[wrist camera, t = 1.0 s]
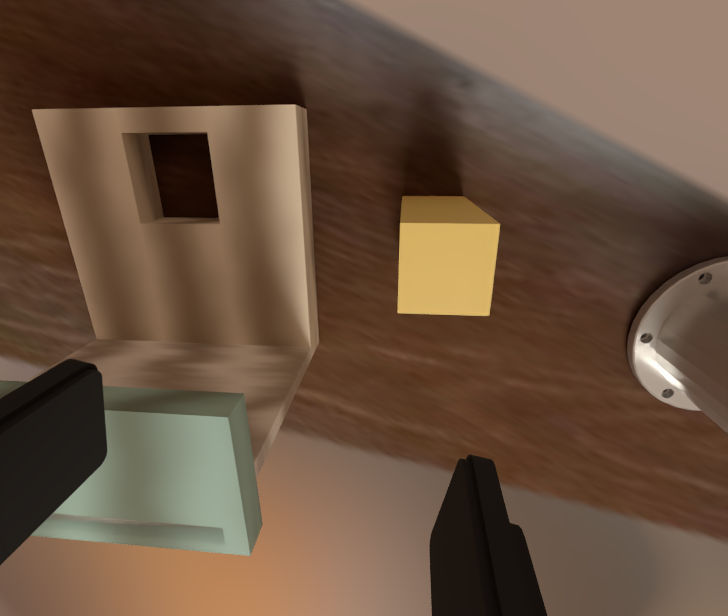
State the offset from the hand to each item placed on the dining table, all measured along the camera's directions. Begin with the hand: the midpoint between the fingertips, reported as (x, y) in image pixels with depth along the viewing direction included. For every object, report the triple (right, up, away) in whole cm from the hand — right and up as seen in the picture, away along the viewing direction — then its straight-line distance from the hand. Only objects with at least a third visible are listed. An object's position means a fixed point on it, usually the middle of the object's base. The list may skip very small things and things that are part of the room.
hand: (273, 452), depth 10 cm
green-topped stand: (-11, +9, +21) cm, 26 cm away
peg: (+7, +10, +19) cm, 23 cm away
